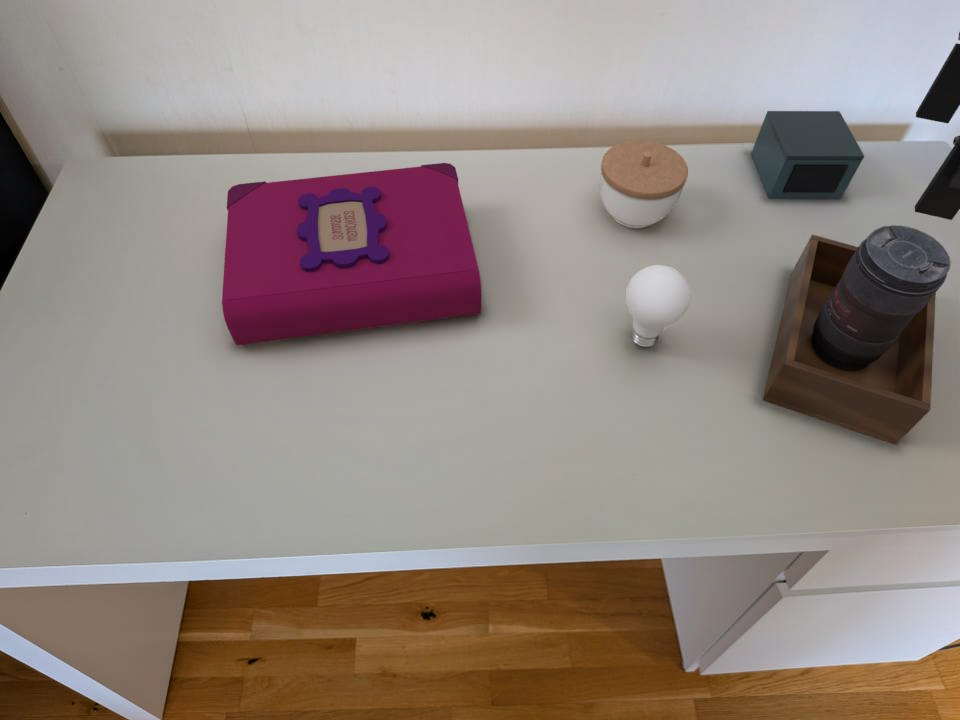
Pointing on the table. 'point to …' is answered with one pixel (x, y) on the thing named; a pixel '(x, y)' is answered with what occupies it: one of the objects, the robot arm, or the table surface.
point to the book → (347, 254)
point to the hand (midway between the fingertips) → (932, 162)
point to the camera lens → (878, 296)
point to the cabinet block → (806, 155)
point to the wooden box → (841, 393)
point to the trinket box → (641, 182)
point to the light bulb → (655, 302)
